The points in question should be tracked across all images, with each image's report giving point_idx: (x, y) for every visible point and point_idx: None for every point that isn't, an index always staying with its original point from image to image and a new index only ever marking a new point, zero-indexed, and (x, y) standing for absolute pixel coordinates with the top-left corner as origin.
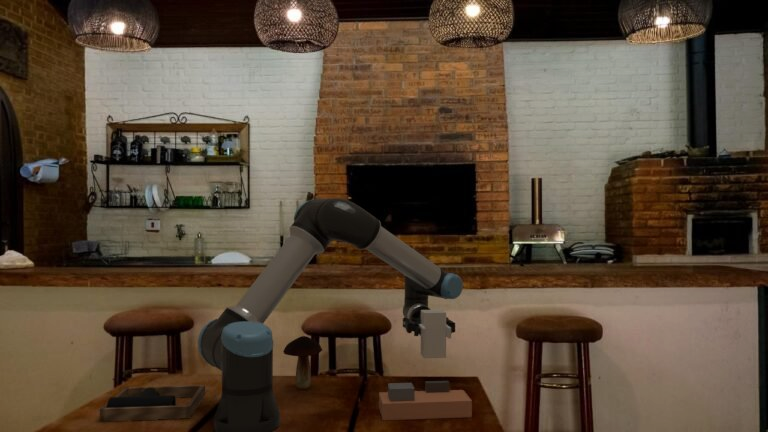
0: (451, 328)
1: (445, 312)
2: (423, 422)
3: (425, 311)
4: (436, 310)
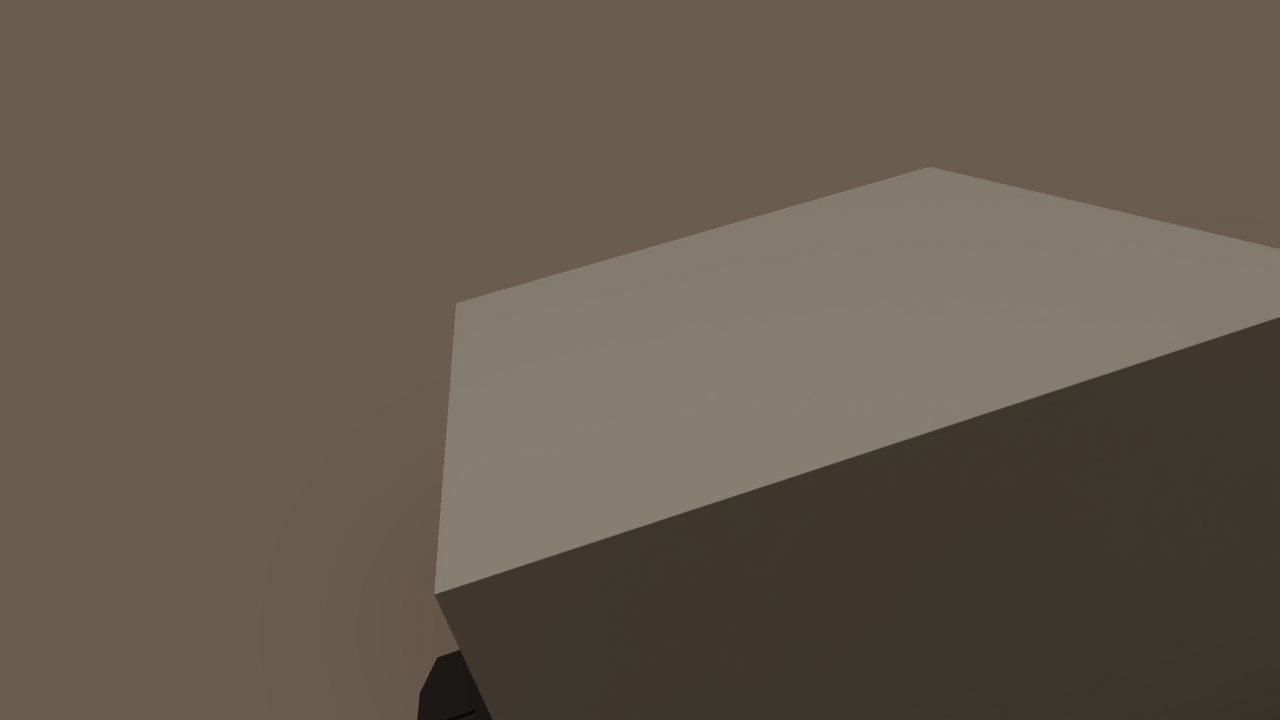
0: (446, 662)
1: (469, 304)
2: None
3: (993, 224)
4: (701, 388)
